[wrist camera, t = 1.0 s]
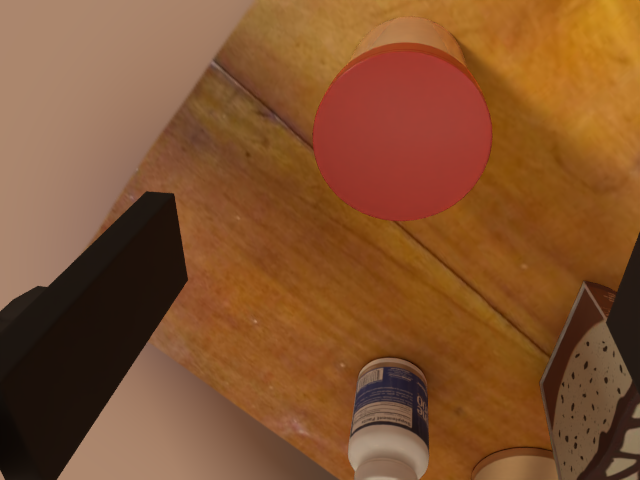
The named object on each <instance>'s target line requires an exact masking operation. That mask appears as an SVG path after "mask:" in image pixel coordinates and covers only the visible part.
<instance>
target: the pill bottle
mask: <svg viewBox="0 0 640 480" xmlns="http://www.w3.org/2000/svg"><path fill="white" fill-rule="evenodd" d="M348 457H349V461H350V464H351V466H352V467H353V469H354V470H355V475H354V480H419V479H420V478H421V477H422V476H423V475H424V473H425V471H426V469H427V467H428V462H429V434H428V394H427V382H426V379H425V376H424V374H423V373H422V371H421V370H420V369H419V368H418V367H416V366H415V365H413V364H412V363H410V362H408V361H405V360H402V359H398V358H381V359H377V360H374V361H372V362H370V363H368V364H367V365H366V366H365V367H363V369H362V370H361V371H360V373H359V376H358V381H357V389H356V396H355V403H354V410H353V418H352V425H351V432H350V439H349V446H348Z"/></svg>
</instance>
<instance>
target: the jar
mask: <svg viewBox="0 0 640 480" xmlns="http://www.w3.org/2000/svg"><path fill="white" fill-rule="evenodd" d="M401 42H411V43H421V44H425V45H429V46H433V47H435V48H438V49H440V50H443V51H444V52H446V53H448V54H450V55H451V56H453V57H454V58H456V59H457V60H458V61H459V62H461V63H462V64H463V65H464V66H465V67H466V68H467V65H466V62H465V59H464V56H463V53H462V50H461V48H460V46H459V44H458V43H457V41H456V40H455V39H454V37H453V36H452V35H451V34H450V33H449V32H448V31H447V30H446V29H444V28H443V27H442V26H440V25H438V24H437V23H435V22H433V21H430V20H428V19H424V18H420V17H400V18H395V19H392V20H389V21H386V22H384V23H382V24H380V25H378V26H377V27H375V28H374V29H372V30H371V31H370V32H369V33H368V34H367V35H366V36H365V37H364V38H363V39H362V40H361V41H360V43H359V44H358V46H357V47H356V49H355V51H354V53H353V55H352V57H351V59H350V60H349V62H348V63H350V62H351V61H352V60H353V59H355V58H356V57H358V56H359V55H361V54H362V53H364V52H367V51H369V50H371V49H373V48H376V47H379V46H382V45H386V44H392V43H401ZM467 69H468V68H467Z"/></svg>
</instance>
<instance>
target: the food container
mask: <svg viewBox="0 0 640 480" xmlns="http://www.w3.org/2000/svg"><path fill="white" fill-rule="evenodd" d="M616 294H617V292H615V291H613V290H612V289H610V288H608V287H605V286H602V285H599V284H596V283H591V282H587V281H583V284H582V286H581V288H580V291H579V293H578V295H577V298H576V300H575V302H574V304H573V307H572V309H571V311H570V314H569V316H568V318H567V320H566V323H565V325H564V327H563V330H562V332H561V334H560V337H559V339H558V341H557V343H556V346H555V348H554V350H553V353H552V355H551V357H550V360H549V362H548V364H547V366H546V369H545V371H544V373H543V376H542V378H541V380H540V383H539V384H540V389H541V394H542V399H543V404H544V409H545V414H546V419H547V424H548V429H549V434H550V439H551V444H552V449H553V454H554V459H555V464H556V469H557V474H558V479H559V480H640V395H639V393H638V391H637V389H636V387H635V385H634V383H633V380H632V378H631V376H630V374H629V372H628V370H627V368H626V365H625V363H624V361H623V359H622V357H621V355H620V353H619V350H618V348H617V346H616V344H615V342H614V340H613V338H612V335H611V333H610V331H609V329H608V327H607V325H606V321H607V318H608V315H609V313H610V310H611V307H612V305H613V302H614V299H615V297H616Z"/></svg>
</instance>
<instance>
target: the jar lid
mask: <svg viewBox="0 0 640 480" xmlns="http://www.w3.org/2000/svg"><path fill="white" fill-rule="evenodd" d="M312 135H313V149H314V154H315V159H316V162H317V165H318V168H319V170H320V172H321V174H322V176H323V178H324V180H325V181H326V183H327V184H328V185H329V187H330V188H331V189H332V190H333V192H334V193H335V194H336V195H337V196H338V197H339V198H340V199H342V200H343V201H344V202H345V203H347V204H348V205H349V206H351V207H352V208H354V209H356V210H358V211H360V212H362V213H364V214H367V215H369V216H372V217H375V218H379V219H384V220H391V221H410V220H417V219H422V218H426V217H429V216H432V215H435V214H438V213H440V212H442V211H444V210H446V209H448V208H449V207H451V206H453V205H454V204H456V203H457V202H458V201H459V200H461V199H462V198H463V197H464V196H465V195H466V194H467V193H468V192H469V191H470V190H471V189H472V188H473V187H474V185H475V184H476V183H477V181H478V180H479V178H480V176H481V175H482V173H483V171H484V169H485V167H486V164H487V162H488V159H489V155H490V151H491V145H492V123H491V118H490V113H489V110H488V107H487V104H486V101H485V99H484V96H483V93H482V91H481V89H480V87H479V85H478V83H477V81H476V80H475V78H474V77H473V75H472V74H471V72H470V71H469V70H468V69H467V68H466V67H465V66H464V65H463V64H462V63H461V62H459V61H458V60H457V59H456V58H454V57H453V56H451V55H450V54H448V53H446V52H444V51H443V50H440V49H438V48H435V47H433V46H429V45H425V44H421V43H411V42H401V43H392V44H386V45H382V46H379V47H376V48H373V49H371V50H369V51H367V52H364V53H362V54H361V55H359V56H358V57H356V58H355V59H353V60H352V61H351V62H350V63H348V64H347V65H346V66H345V67H344V68H343V69H342V70H341V71H340V72H339V73H338V75H337V76H336V77H335V79H334V80H333V82H332V83H331V85H330V86H329V88H328V90H327V92H326V93H325V95H324V97H323V99H322V101H321V103H320V105H319V108H318V110H317V113H316V116H315V121H314V126H313V133H312Z"/></svg>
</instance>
